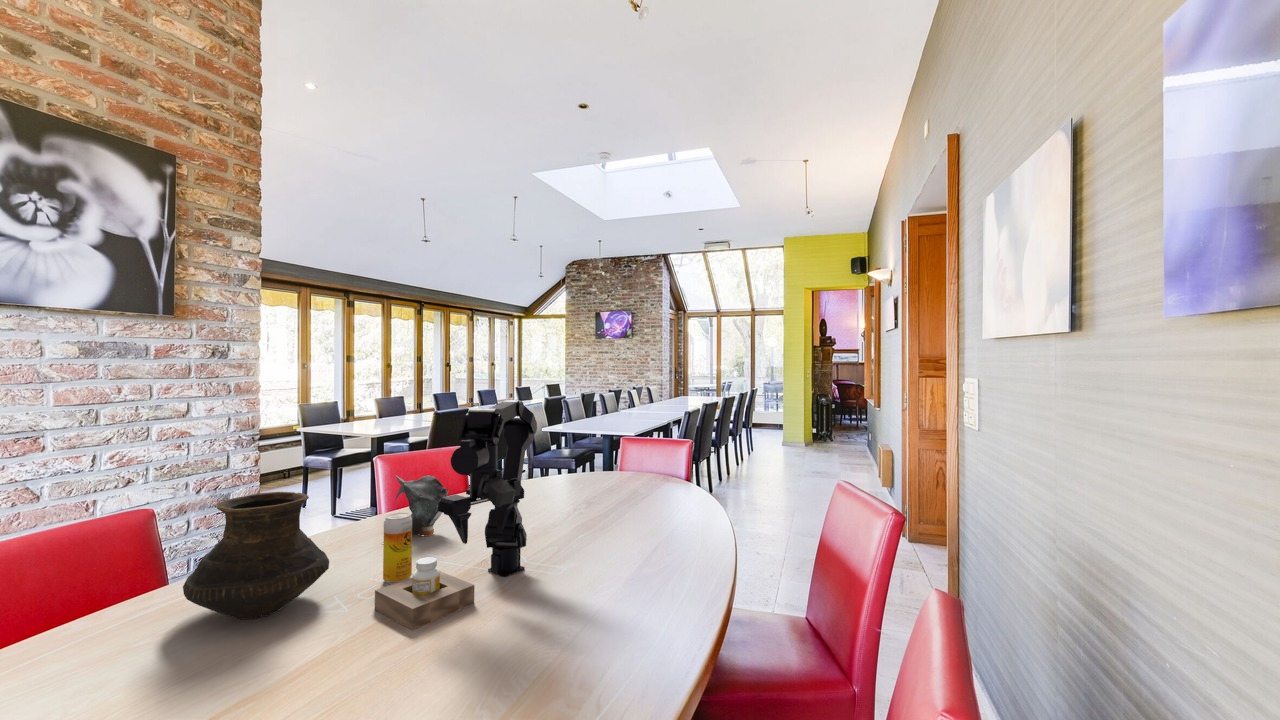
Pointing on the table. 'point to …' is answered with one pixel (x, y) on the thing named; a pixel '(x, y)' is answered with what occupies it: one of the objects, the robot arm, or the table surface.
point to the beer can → (397, 548)
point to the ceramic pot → (257, 558)
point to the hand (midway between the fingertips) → (483, 537)
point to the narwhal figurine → (423, 502)
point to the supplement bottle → (426, 577)
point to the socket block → (423, 601)
